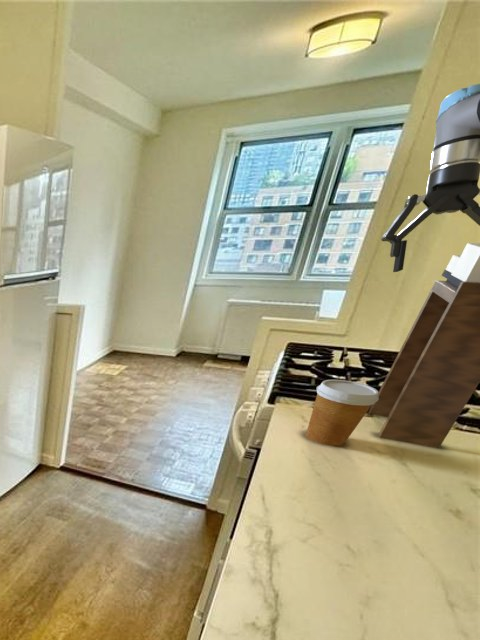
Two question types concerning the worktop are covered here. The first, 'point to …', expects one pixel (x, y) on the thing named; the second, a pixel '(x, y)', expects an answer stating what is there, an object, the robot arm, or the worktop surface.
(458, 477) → the worktop surface
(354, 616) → the worktop surface
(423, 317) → the tall wooden cabinet
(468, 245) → the white block dark base
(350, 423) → the disposable coffee cup
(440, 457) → the worktop surface
